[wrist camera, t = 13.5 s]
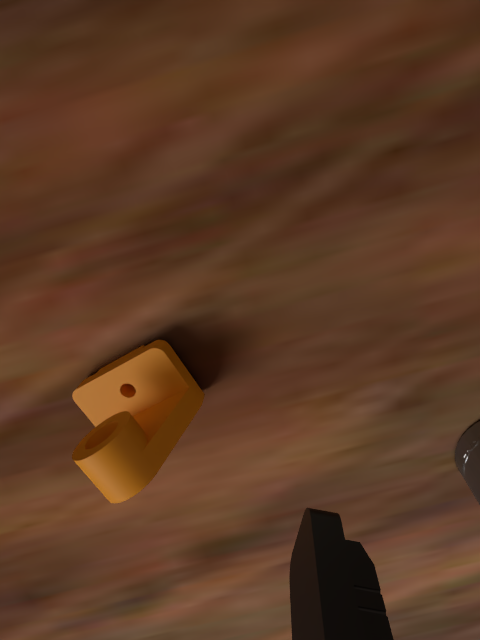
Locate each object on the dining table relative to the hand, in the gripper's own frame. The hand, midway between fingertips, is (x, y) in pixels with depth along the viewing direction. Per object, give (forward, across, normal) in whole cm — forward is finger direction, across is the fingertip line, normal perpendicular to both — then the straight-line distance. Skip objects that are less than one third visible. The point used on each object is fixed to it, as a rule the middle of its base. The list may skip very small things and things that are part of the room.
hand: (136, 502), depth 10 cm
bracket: (+28, +7, +15) cm, 33 cm away
